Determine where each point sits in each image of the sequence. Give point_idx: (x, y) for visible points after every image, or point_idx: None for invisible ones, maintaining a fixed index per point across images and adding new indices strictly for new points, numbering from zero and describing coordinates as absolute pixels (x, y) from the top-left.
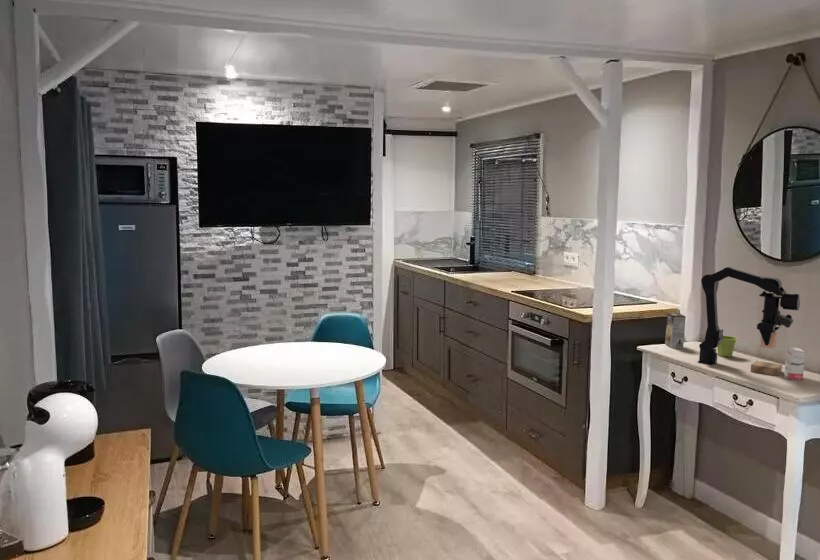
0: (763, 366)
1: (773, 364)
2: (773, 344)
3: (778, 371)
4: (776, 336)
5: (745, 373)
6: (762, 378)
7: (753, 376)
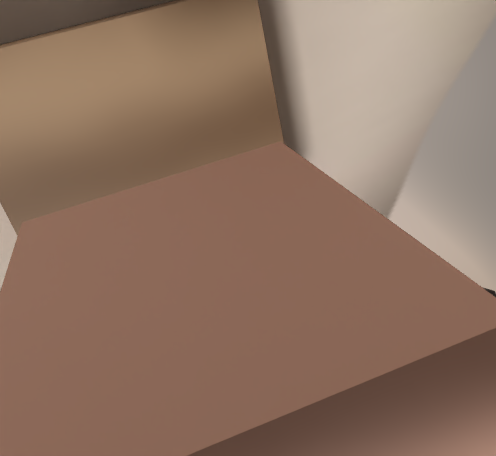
0: (278, 139)
1: (57, 134)
2: (315, 169)
3: (145, 9)
4: (10, 387)
5: (371, 200)
6: (444, 20)
7: (426, 107)
